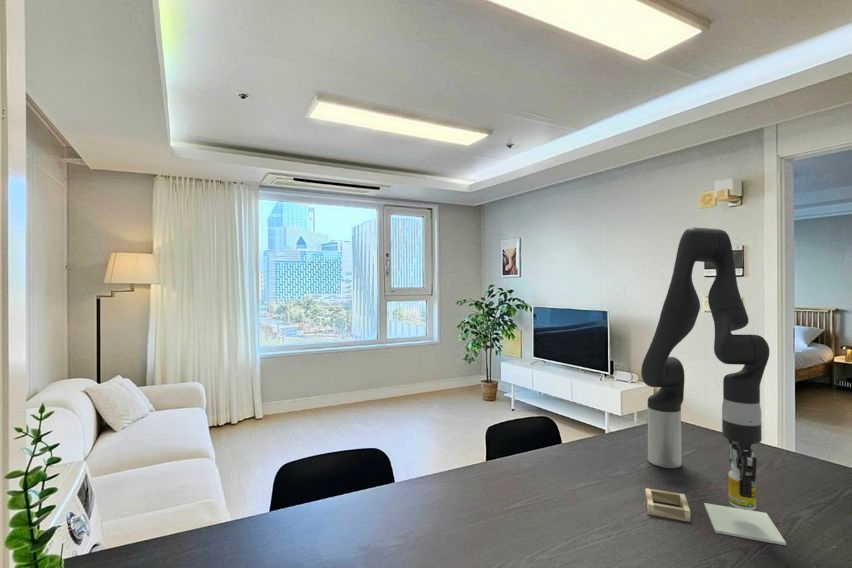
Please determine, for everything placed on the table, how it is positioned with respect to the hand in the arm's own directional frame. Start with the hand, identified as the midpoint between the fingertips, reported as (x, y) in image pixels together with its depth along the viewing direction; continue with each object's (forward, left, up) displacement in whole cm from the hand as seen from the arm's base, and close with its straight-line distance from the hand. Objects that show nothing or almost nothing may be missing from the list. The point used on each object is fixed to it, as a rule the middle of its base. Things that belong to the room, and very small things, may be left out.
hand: (741, 490), depth 103 cm
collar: (-1, -16, -8) cm, 18 cm away
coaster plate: (0, 0, -8) cm, 8 cm away
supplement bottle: (0, 0, -4) cm, 4 cm away
